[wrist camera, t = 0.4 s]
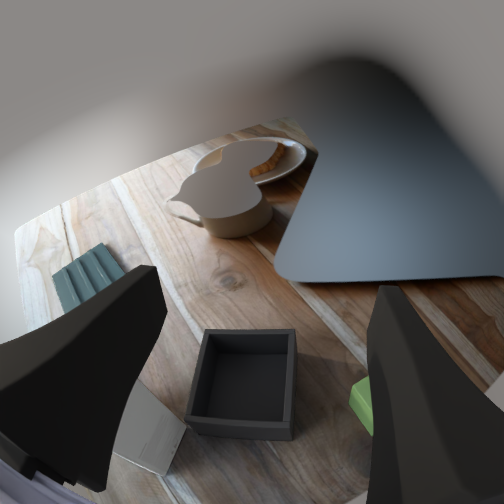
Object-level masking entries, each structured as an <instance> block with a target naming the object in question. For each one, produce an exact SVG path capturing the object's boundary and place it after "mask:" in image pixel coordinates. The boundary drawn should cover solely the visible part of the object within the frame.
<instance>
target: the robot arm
mask: <svg viewBox="0 0 504 504" xmlns="http://www.w3.org/2000/svg"><path fill="white" fill-rule="evenodd" d="M167 312H168V311H167V307H166V303H165V300H164V296H163V292H162V288H161V284H160V280H159V276H158V272H157V268H156V266H147V265H140V266H138V267H136V268H134V269H133V270H131V271H129V272H128V273H126V274H125V275H123V276H122V277H120V278H119V279H117V280H116V281H114V282H113V283H111V284H110V285H109V286H107V287H106V288H104V289H103V290H101V291H100V292H98V293H97V294H95V295H94V296H92V297H91V298H89V299H88V300H86V301H85V302H83V303H81V304H80V305H78V306H77V307H75V308H74V309H72V310H71V311H69V312H67V313H66V314H64V315H62V316H61V317H59V318H57V319H55V320H54V321H52V322H50V323H48V324H46V325H44V326H42V327H40V328H38V329H36V330H34V331H32V332H29V333H27V334H25V335H23V336H21V337H19V338H16V339H14V340H11V341H8V342H6V343H3V344H0V504H96V503H94V502H92V501H90V500H88V499H86V498H84V497H82V496H80V495H78V494H76V493H74V492H73V491H71V490H69V489H67V488H65V487H64V486H63V483H64V482H67V483H69V484H71V485H73V486H74V485H75V484H76V483H78V484H80V485H82V486H84V487H86V488H88V489H90V490H92V491H94V492H97V493H98V492H102V491H104V490H106V484H107V477H108V471H109V465H110V460H111V456H112V451H113V447H114V443H115V439H116V435H117V432H118V428H119V425H120V422H121V418H122V415H123V412H124V409H125V407H126V404H127V401H128V398H129V395H130V393H131V391H132V389H133V386H134V384H135V382H136V380H137V378H138V376H139V374H140V372H141V371H142V369H143V367H144V365H145V363H146V361H147V359H148V357H149V355H150V353H151V351H152V349H153V347H154V345H155V343H156V341H157V339H158V337H159V335H160V332H161V329H162V327H163V324H164V321H165V318H166V315H167ZM367 364H368V373H369V382H370V392H371V402H372V413H373V448H372V461H371V471H370V481H369V488H368V494H367V501H366V504H504V412H503V411H502V410H501V409H500V408H498V407H497V406H496V405H495V404H494V403H493V402H492V401H491V400H490V399H489V398H488V397H487V396H486V395H485V394H484V393H483V392H482V391H481V390H480V389H479V388H478V387H477V386H476V385H475V384H474V383H473V382H472V381H471V380H470V379H469V378H468V377H467V376H466V374H465V373H464V372H463V371H462V370H461V369H460V368H459V367H458V366H457V364H456V363H455V362H454V361H453V360H452V358H451V357H450V356H449V355H448V353H447V352H446V351H445V350H444V348H443V347H442V346H441V345H440V343H439V342H438V341H437V339H436V338H435V337H434V335H433V334H432V333H431V331H430V330H429V329H428V327H427V326H426V325H425V323H424V322H423V320H422V319H421V318H420V316H419V315H418V313H417V312H416V310H415V309H414V308H413V306H412V305H411V303H410V302H409V301H408V299H407V298H406V296H405V295H404V294H403V292H402V291H401V289H400V288H399V287H398V286H385V285H380V286H379V290H378V294H377V298H376V301H375V305H374V309H373V312H372V316H371V319H370V323H369V326H368V329H367Z"/></svg>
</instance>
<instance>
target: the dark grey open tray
mask: <svg viewBox="0 0 504 504" xmlns="http://www.w3.org/2000/svg"><path fill="white" fill-rule="evenodd" d="M296 377H297V343H296V333H295V329H263V330H228V329H205V331H204V335H203V339H202V344H201V348H200V352H199V356H198V360H197V364H196V369H195V373H194V377H193V381H192V385H191V390H190V394H189V398H188V403H187V407H186V411H185V416H184V421H185V422H186V423H187V424H188V425H189V426H190V427H191V428H192V429H193V430H195V431H196V432H197V433H198V434H199V435H206V436H215V437H225V438H236V439H250V440H270V441H293V431H294V415H295V397H296Z"/></svg>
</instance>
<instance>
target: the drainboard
mask: <svg viewBox="0 0 504 504" xmlns="http://www.w3.org/2000/svg"><path fill="white" fill-rule="evenodd" d="M123 275H125V273H124V271H123V270H122V269H121V268H120V266H119V265H118V264H117V262H116V261H115V260H114V258H113V257H112V255H111V254H110V253H109V251H108V250H107V249H106V247H105V246H104V244H103V243H100V244H99V245H97V246H96V247H94V248H93V249H90V250H89V251H87V252H86V253H85V254H83V255H82V256H80V257H79V258H77V259H75V260H74V261H73V262H71V263H70V264H69V265H67V266H66V267H64V268H62V269H61V270H60V271H58V272H57V273H55V274H54V275H53V276H52V279H53V282H54V285H55V288H56V291H57V294H58V297H59V300H60V302H61V305H62V308H63V311H64V313H65V314H66V313H67V312H69V311H71V310H72V309H74V308H75V307H77V306H78V305H80V304H81V303H83V302H85V301H86V300H88V299H89V298H91V297H92V296H94V295H95V294H97V293H98V292H100V291H101V290H103V289H104V288H106V287H107V286H109V285H110V284H111V283H113V282H114V281H116V280H117V279H119V278H120V277H122V276H123Z"/></svg>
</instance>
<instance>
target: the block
mask: <svg viewBox="0 0 504 504" xmlns="http://www.w3.org/2000/svg"><path fill="white" fill-rule="evenodd" d="M348 404H349V405H350V407H351V408H352V410H353V411H354V412H355V414H356V415H357V416H358V418H359V419H360V421H361V422H362V423H363V425H364V426H365V428H366V429H367V430H368V432H369V433H370V435H371V436H373V413H372V402H371V392H370V382H369V376H367V377H366V378H364V379H362V380H361V381H359V382H358V383H356V384H354V385H353V387H352V391H351V395H350V398H349V402H348Z"/></svg>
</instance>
